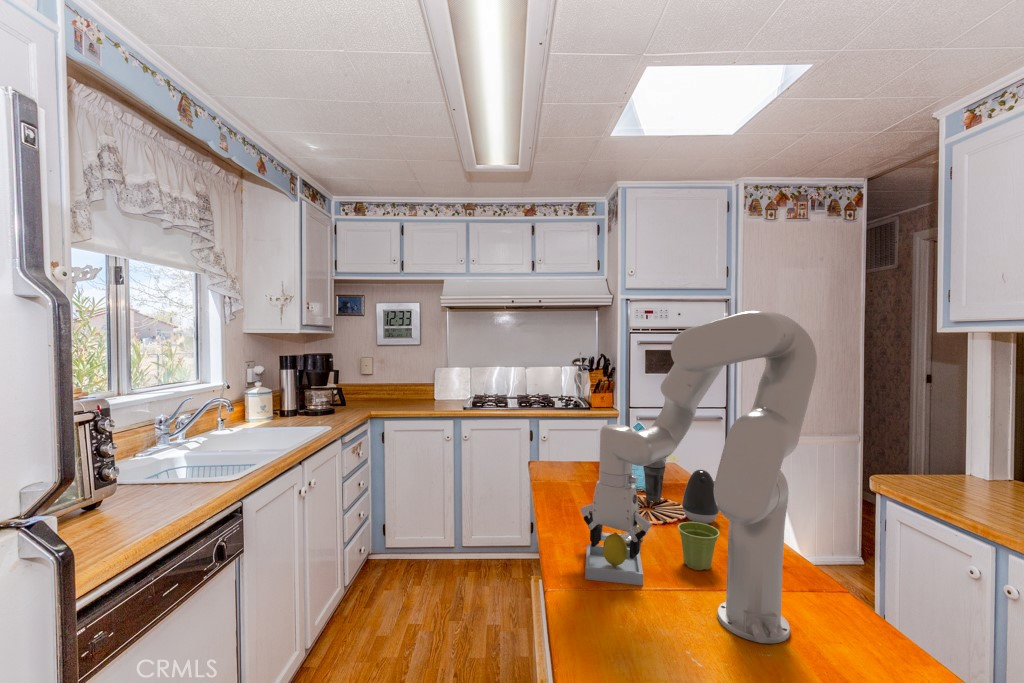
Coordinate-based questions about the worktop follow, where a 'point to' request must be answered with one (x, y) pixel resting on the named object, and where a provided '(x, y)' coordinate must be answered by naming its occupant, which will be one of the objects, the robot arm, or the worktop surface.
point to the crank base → (641, 538)
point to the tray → (612, 567)
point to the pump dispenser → (700, 498)
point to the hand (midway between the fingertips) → (613, 550)
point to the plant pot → (698, 544)
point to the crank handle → (604, 535)
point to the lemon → (615, 549)
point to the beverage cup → (654, 480)
